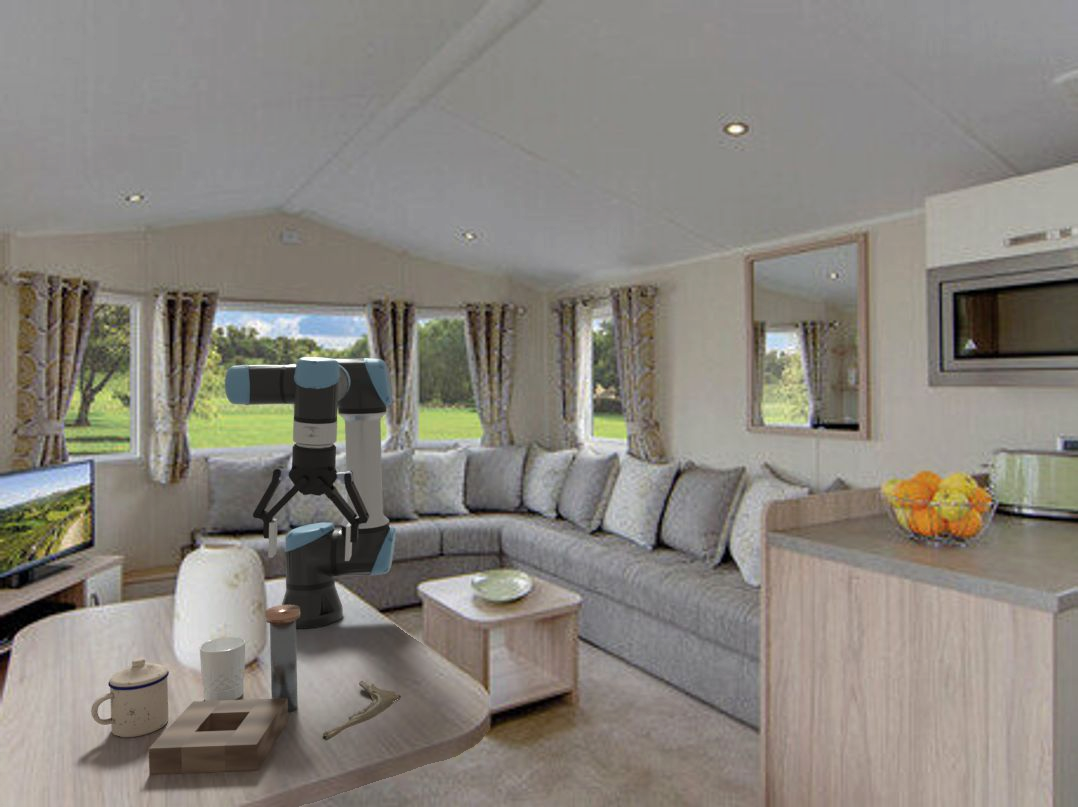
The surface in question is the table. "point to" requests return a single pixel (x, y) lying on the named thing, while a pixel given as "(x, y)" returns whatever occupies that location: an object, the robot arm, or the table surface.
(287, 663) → the metal pin
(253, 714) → the socket block
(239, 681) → the white cup
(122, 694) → the teacup with lid
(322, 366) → the robot arm
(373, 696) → the jawbone
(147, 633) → the table surface
